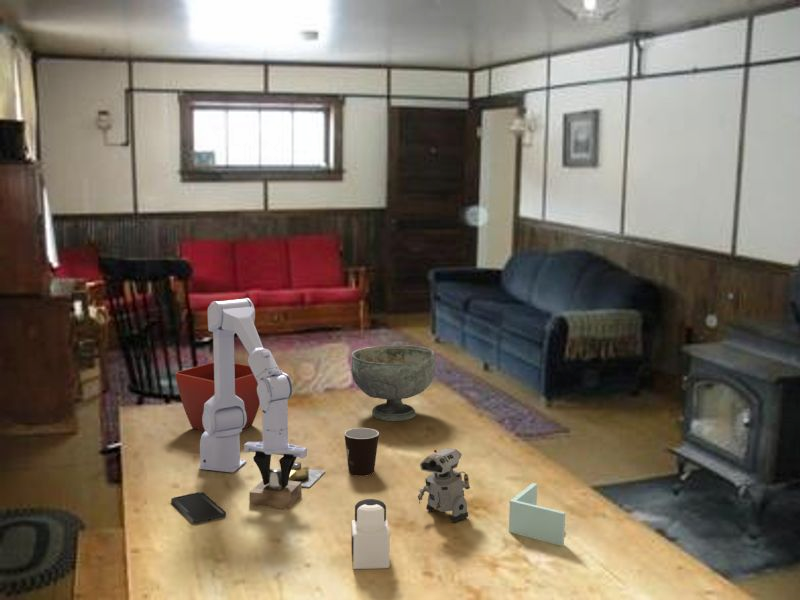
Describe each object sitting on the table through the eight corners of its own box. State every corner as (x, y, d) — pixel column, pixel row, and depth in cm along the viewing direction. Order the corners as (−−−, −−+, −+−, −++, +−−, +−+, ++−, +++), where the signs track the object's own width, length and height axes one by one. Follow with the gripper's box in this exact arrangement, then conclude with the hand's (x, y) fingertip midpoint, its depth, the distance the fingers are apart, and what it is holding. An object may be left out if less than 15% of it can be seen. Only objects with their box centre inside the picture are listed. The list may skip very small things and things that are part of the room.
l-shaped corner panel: (562, 548, 176) (563, 513, 174) (508, 534, 182) (509, 500, 181) (583, 527, 186) (584, 494, 184) (531, 514, 192) (532, 482, 191)
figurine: (407, 517, 188) (408, 452, 186) (444, 504, 196) (446, 441, 193) (436, 531, 181) (437, 463, 179) (473, 516, 189) (475, 451, 187)
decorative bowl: (436, 427, 249) (436, 360, 246) (348, 428, 249) (347, 360, 247) (434, 405, 275) (434, 344, 273) (354, 405, 276) (353, 344, 273)
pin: (267, 501, 196) (266, 472, 195) (272, 496, 199) (271, 467, 198) (279, 502, 195) (279, 473, 194) (284, 497, 198) (283, 468, 197)
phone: (202, 491, 199) (227, 513, 187) (202, 496, 200) (227, 518, 187) (169, 498, 195) (192, 521, 183) (169, 503, 195) (193, 526, 183)
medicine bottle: (351, 552, 171) (351, 496, 169) (387, 552, 172) (387, 495, 170) (352, 569, 164) (352, 510, 162) (389, 568, 165) (390, 509, 163)
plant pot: (269, 424, 252) (269, 368, 249) (223, 442, 236) (222, 382, 233) (222, 413, 262) (220, 359, 259) (174, 429, 246) (173, 372, 243)
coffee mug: (374, 479, 210) (374, 440, 209) (340, 476, 212) (340, 437, 210) (384, 462, 222) (384, 425, 220) (352, 460, 223) (352, 423, 222)
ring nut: (273, 484, 205) (273, 472, 204) (289, 469, 214) (289, 458, 214) (297, 486, 203) (297, 475, 203) (312, 472, 213) (312, 461, 212)
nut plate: (266, 483, 207) (266, 481, 207) (284, 467, 217) (284, 466, 217) (309, 488, 204) (309, 486, 204) (325, 471, 215) (325, 470, 215)
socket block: (249, 504, 194) (249, 492, 194) (265, 489, 203) (265, 477, 202) (286, 509, 192) (286, 496, 191) (301, 494, 200) (301, 481, 200)
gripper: (238, 429, 192) (239, 487, 195) (298, 435, 189) (299, 494, 191) (251, 420, 199) (252, 476, 201) (309, 426, 195) (310, 482, 198)
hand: (275, 484), depth 197 cm, fingers open, 4 cm apart
